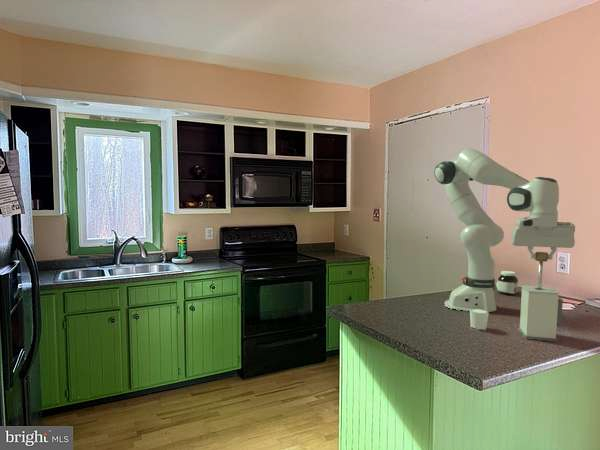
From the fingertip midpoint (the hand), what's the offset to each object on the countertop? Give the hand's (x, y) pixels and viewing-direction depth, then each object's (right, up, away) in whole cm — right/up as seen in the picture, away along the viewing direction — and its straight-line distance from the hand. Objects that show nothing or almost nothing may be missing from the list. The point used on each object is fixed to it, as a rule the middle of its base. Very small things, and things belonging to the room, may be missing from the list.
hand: (541, 258), depth 153 cm
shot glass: (-19, -28, +10) cm, 36 cm away
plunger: (0, -18, +1) cm, 18 cm away
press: (+1, -29, +2) cm, 29 cm away
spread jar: (+21, -24, +68) cm, 75 cm away
